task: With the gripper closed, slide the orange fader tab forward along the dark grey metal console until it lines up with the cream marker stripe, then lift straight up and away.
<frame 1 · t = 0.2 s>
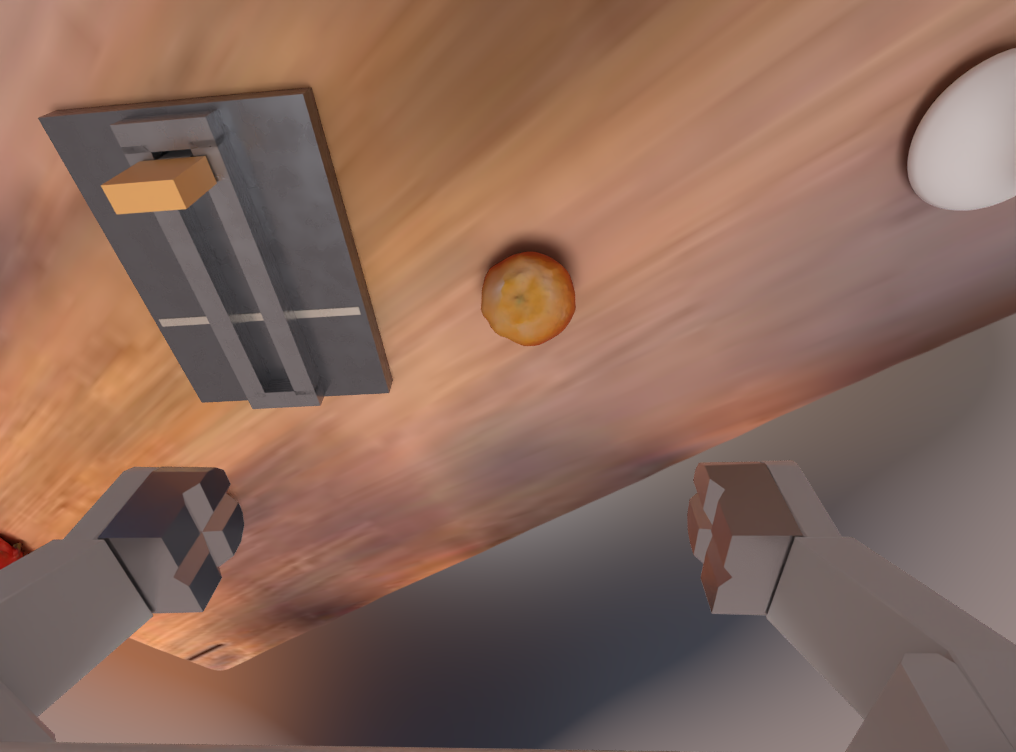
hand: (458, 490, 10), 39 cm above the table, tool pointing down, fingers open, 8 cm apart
console: (251, 267, 50), on the table
fruit: (529, 277, 51), on the table
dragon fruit: (4, 542, 79), on the table
flower in vase: (976, 117, 41), on the table
fader: (169, 179, 40), point 6 cm above the table, slide at 0.0 cm
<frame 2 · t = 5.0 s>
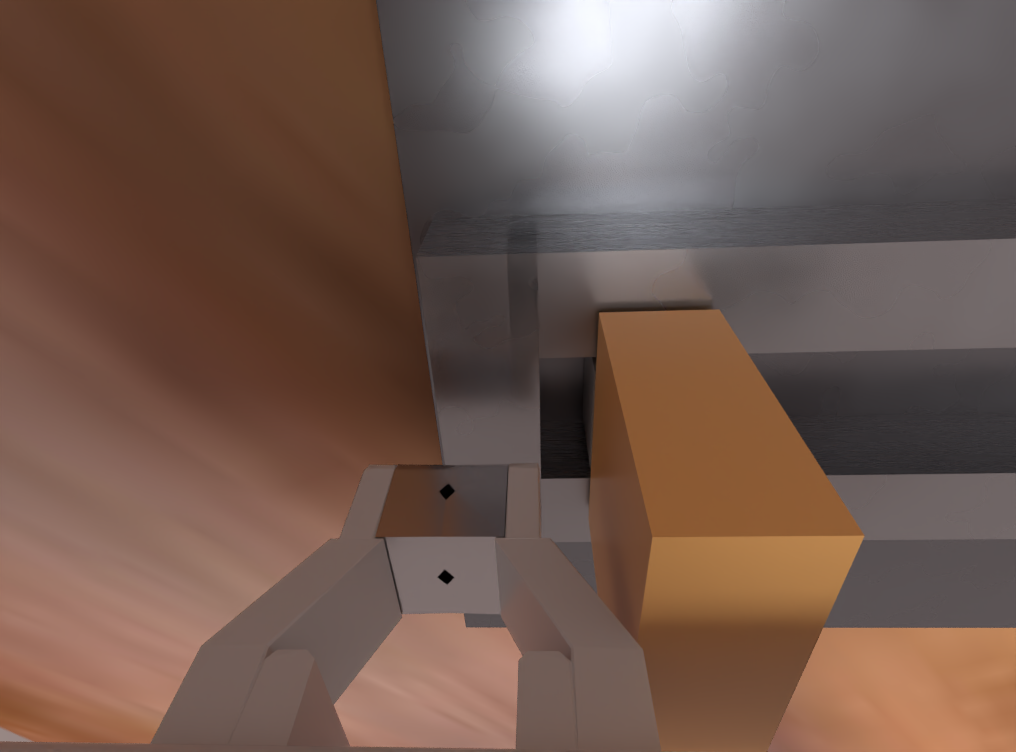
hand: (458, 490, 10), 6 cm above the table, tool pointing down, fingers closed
console: (1002, 315, 14), on the table
fader: (659, 478, 10), point 6 cm above the table, slide at 0.5 cm
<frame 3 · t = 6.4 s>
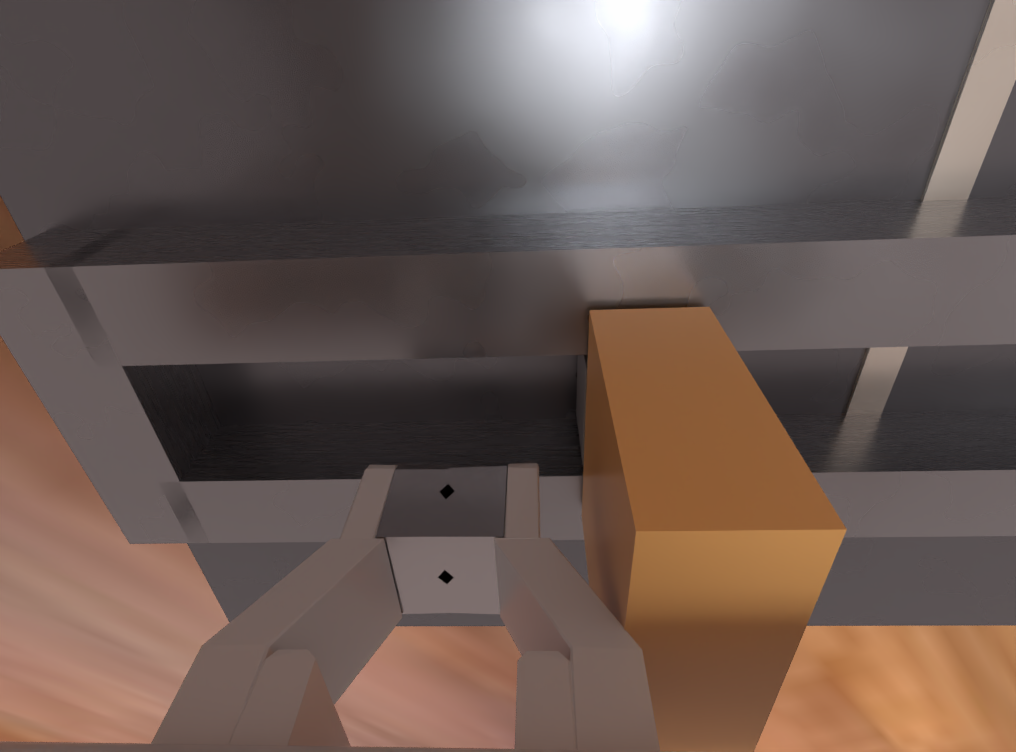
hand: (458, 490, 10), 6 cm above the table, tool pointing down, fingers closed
console: (678, 321, 14), on the table
fader: (650, 475, 10), point 6 cm above the table, slide at 8.3 cm, touching gripper
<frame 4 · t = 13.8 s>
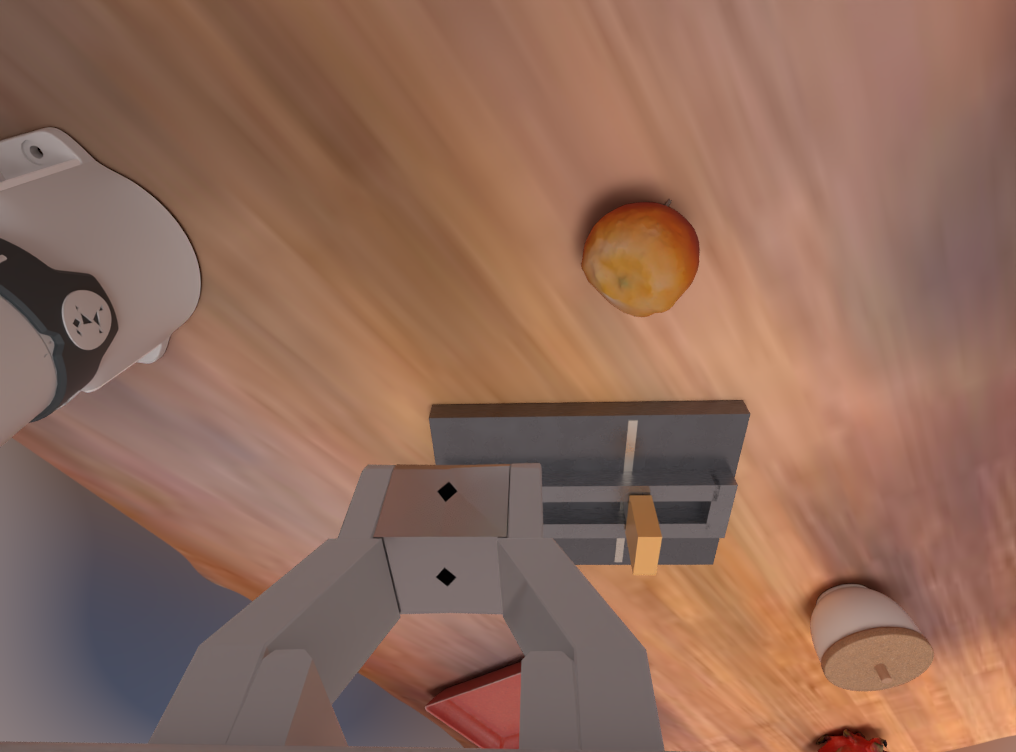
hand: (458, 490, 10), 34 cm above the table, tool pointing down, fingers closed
console: (581, 483, 56), on the table
plant saucer: (514, 694, 80), on the table
fruit: (632, 240, 42), on the table
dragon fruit: (840, 735, 83), on the table
lidded jar: (842, 598, 65), on the table
fader: (640, 526, 51), point 6 cm above the table, slide at 14.9 cm
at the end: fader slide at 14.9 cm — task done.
